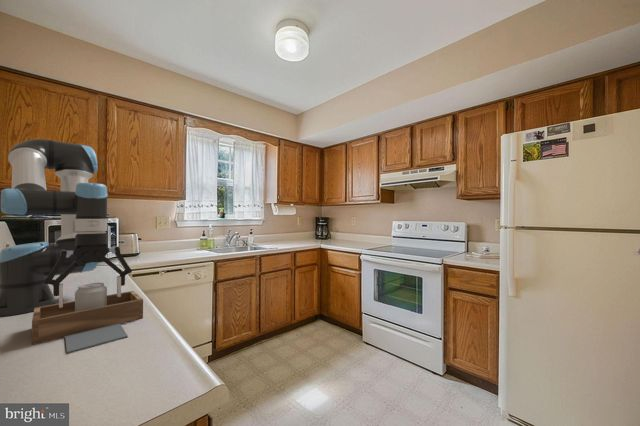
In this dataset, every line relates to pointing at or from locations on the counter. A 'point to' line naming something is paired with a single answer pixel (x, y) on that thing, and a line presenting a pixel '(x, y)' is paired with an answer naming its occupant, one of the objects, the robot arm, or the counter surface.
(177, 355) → the counter surface
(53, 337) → the box frame
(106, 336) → the mat
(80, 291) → the can
